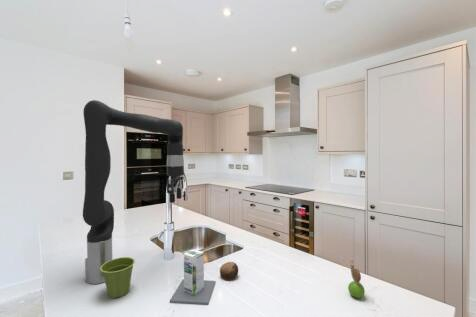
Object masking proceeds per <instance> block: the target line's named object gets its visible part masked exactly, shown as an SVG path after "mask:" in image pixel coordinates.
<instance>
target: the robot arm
mask: <svg viewBox="0 0 476 317" xmlns="http://www.w3.org/2000/svg"><path fill="white" fill-rule="evenodd" d="M83 120H84V122H83V123H84V129H85V130H84V131H85V150H84V151H85V153H84V172H85V174H84V175H85V176H84V177H85V178H84V197H83V198H84V199H83V206H82V207H83V208H82V220H83V221H84V222H85V223H86V225H87V226H89V227H90V229H89V231H88V233H87V234H86V252H87V253H86V256H87V257H86V258H85V259H84V264H85V265H84V268H85V269H84V273H85V274H84V275H85V278H84V279H85V282H87V283H88V284H90V285H97V284H98V285H99V284H103V283H105V279H104V276H103V273H102V271H101V270H100V267H101V266H102V265H103V264H104V263H106V262H108V261H110V260H113V232H114V227H115V226H114V224H115V209H114V206H113V204H112V203H111V202H110V201H109V200H106V199H105V192H106V191H105V190H106V187H107V183H108V180H109V177H110V173H111V166H112V165H111V164H112V163H111V161H112V160H111V150H110V148H109V147H110V146H109V143H108V141H107V140H108V139H107V134H106V133H107V126H121V127H126V128H130V129H131V128H132V129H136V130H139V131H144V132H149V133H153V134H163V135H167V145H166V147H167V150H166V152H167V153H166V175H167V176H168V177H170V179H169V178H168V179H167V180H166V194H168V195H169V203H170V204H171V203H173V204H174V203H175V201H176V199H177V200H180V199H182V191H183V189H184V175H185V165H184V164H185V159H184V144H183V139H184V138H183V137H184V127H183V126H184V125H182V123H181V122H180V121H178V120H176V119H175V120H174V119H169V118H160V117H158V116H152V115H147V114H142V113H131V112H125V111H121V110H118V109H115V108H112V107H110V106H109V105H108V104H106V103H104V102H102V101H100V100H97V99H96V100H95V99H94V100H93V99H92V100H89V101H88V102H87V103H86V104H85V105H84V107H83Z"/></svg>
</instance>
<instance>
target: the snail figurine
mask: <svg viewBox="0 0 476 317" xmlns="http://www.w3.org/2000/svg"><path fill="white" fill-rule="evenodd" d="M349 262H350V265H349V266H350V273H351V278H352V280H353V281H351V282H349V284H348V286H347V287H348V288H347V289H348V292H349V294H350V295H351V296H353V298H356V299H360V298H362V297H364V296H365V286H363V284H362V283H361V282H360V281H361V279H362V277H361V276H362V275H361V273H360V271H359V269H357V268H355V265H354V260H349Z"/></svg>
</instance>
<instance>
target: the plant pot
mask: <svg viewBox="0 0 476 317" xmlns="http://www.w3.org/2000/svg"><path fill="white" fill-rule="evenodd" d="M135 263H136V261H135V259H134V258H133V257H129V256H127V257H126V256H123V257H117V258H112V260H110V261H108V262H106V263H104V264H103V265H102V266H101V267H100V270H101V271H102V273H103V276H104V279H105V282H104V283H105V287H106V291H107V295H108V297H109V298H111V299H116V298H119V297H125V295H126V294H128V293H129V291H130V286H131V280H132V273H133V269H134V264H135Z"/></svg>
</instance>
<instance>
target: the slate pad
mask: <svg viewBox="0 0 476 317" xmlns="http://www.w3.org/2000/svg"><path fill="white" fill-rule="evenodd" d="M216 284H217V283H216V280H207V279H206V280H205V279H204V288H203V289H202V290H201V291H199V292H198V293H197V294H196V295H193V294H191V293H188V292H186V291H184V278H183V279H182V280H181V282H179V285H178V286H177V287H176V289H175V290H174V293H173V294H172V296H171V298H170V300H169V303H171V304H185V305H186V304H187V305H202V306H203V305H205V306H208V305H209V303H210V300H211V297H212V294H213V292H214V289H215V285H216Z"/></svg>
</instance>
